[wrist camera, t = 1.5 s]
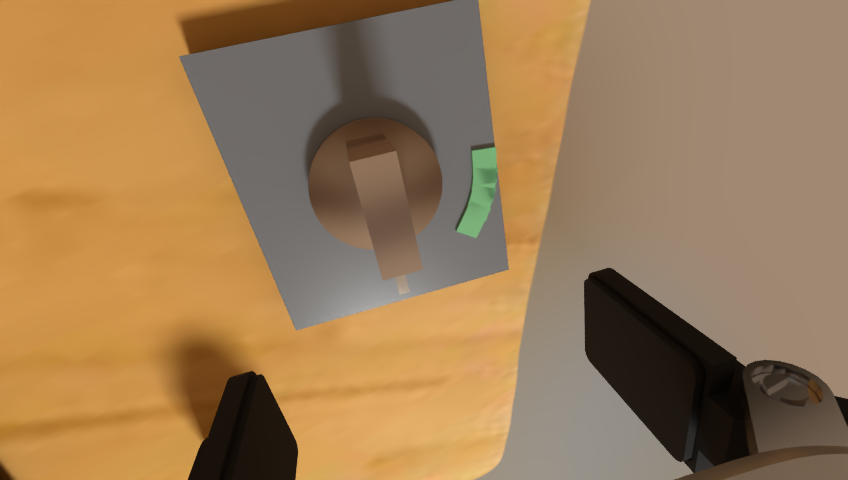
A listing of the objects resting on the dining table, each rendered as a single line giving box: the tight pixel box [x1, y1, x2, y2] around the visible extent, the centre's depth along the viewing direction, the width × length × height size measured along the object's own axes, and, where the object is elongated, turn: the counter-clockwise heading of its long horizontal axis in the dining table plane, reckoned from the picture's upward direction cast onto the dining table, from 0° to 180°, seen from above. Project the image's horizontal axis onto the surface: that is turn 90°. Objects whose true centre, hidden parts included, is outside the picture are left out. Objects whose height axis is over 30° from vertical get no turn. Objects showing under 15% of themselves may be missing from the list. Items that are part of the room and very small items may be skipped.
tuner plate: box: [179, 0, 509, 330], centre depth 28 cm, size 20×18×2 cm
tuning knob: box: [308, 117, 442, 295], centre depth 25 cm, size 13×9×7 cm
